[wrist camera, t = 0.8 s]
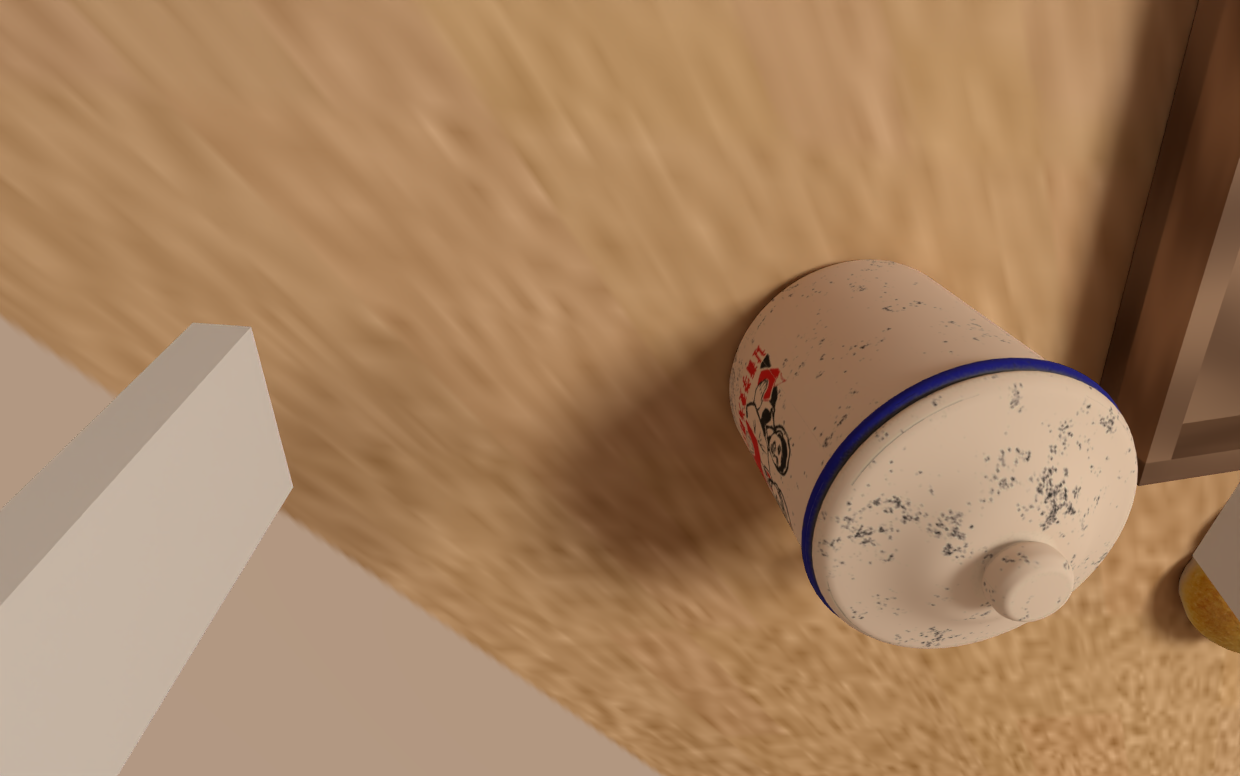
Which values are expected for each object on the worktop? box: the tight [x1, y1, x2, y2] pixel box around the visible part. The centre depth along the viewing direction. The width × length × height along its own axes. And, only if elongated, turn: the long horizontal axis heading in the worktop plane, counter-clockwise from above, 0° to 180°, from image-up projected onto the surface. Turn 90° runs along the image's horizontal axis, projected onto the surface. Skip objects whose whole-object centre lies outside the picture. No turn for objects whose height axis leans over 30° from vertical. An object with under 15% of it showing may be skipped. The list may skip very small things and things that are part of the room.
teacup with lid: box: [729, 259, 1138, 649], centre depth 24 cm, size 12×9×12 cm
